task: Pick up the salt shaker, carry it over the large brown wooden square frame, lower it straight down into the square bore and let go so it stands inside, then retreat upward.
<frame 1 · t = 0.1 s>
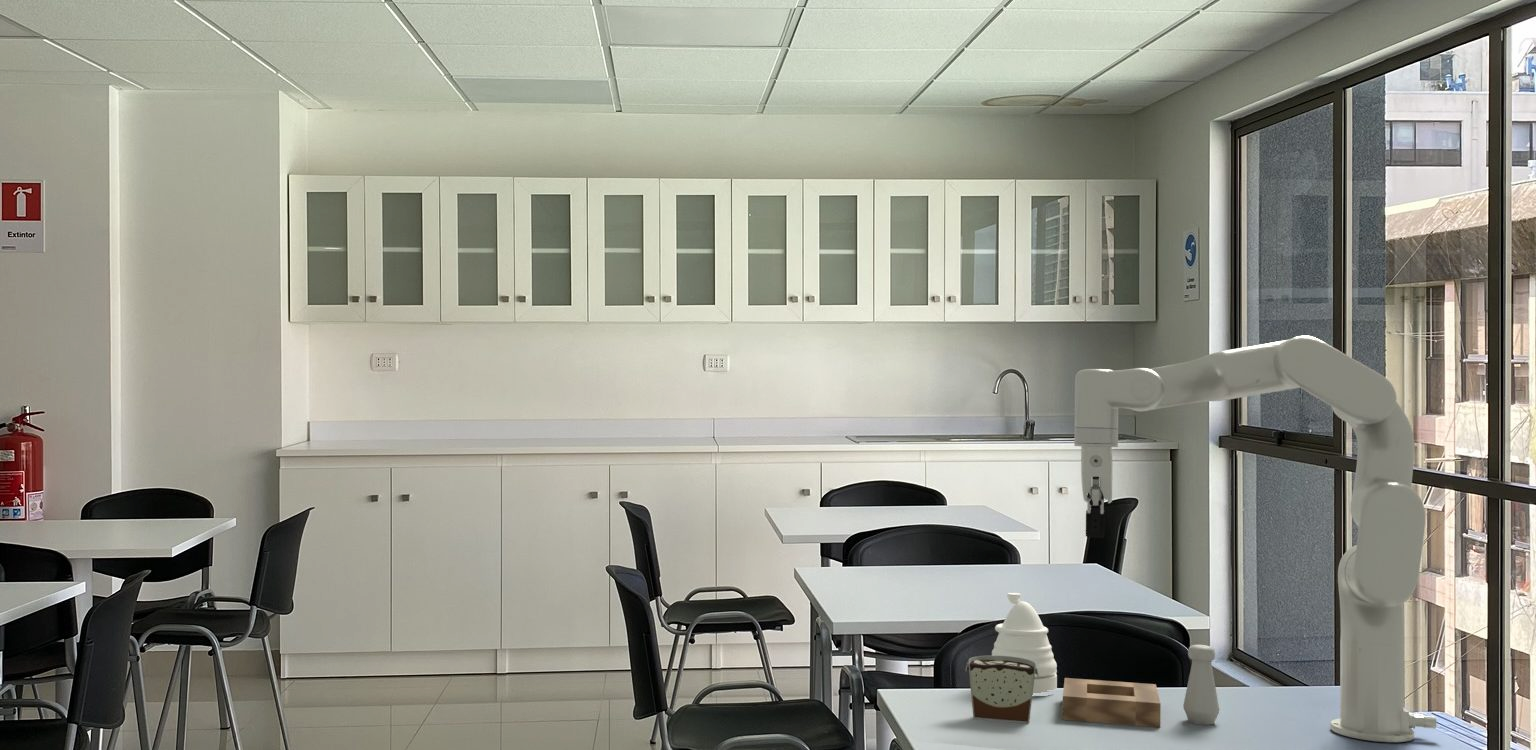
hand: (1095, 535, 216), 31 cm above the table, tool pointing down, fingers open, 9 cm apart
salt shaker: (1201, 723, 210), on the table
honey pot: (1022, 690, 233), on the table
brown wooden square frame: (1110, 712, 215), on the table
food container: (1002, 718, 210), on the table
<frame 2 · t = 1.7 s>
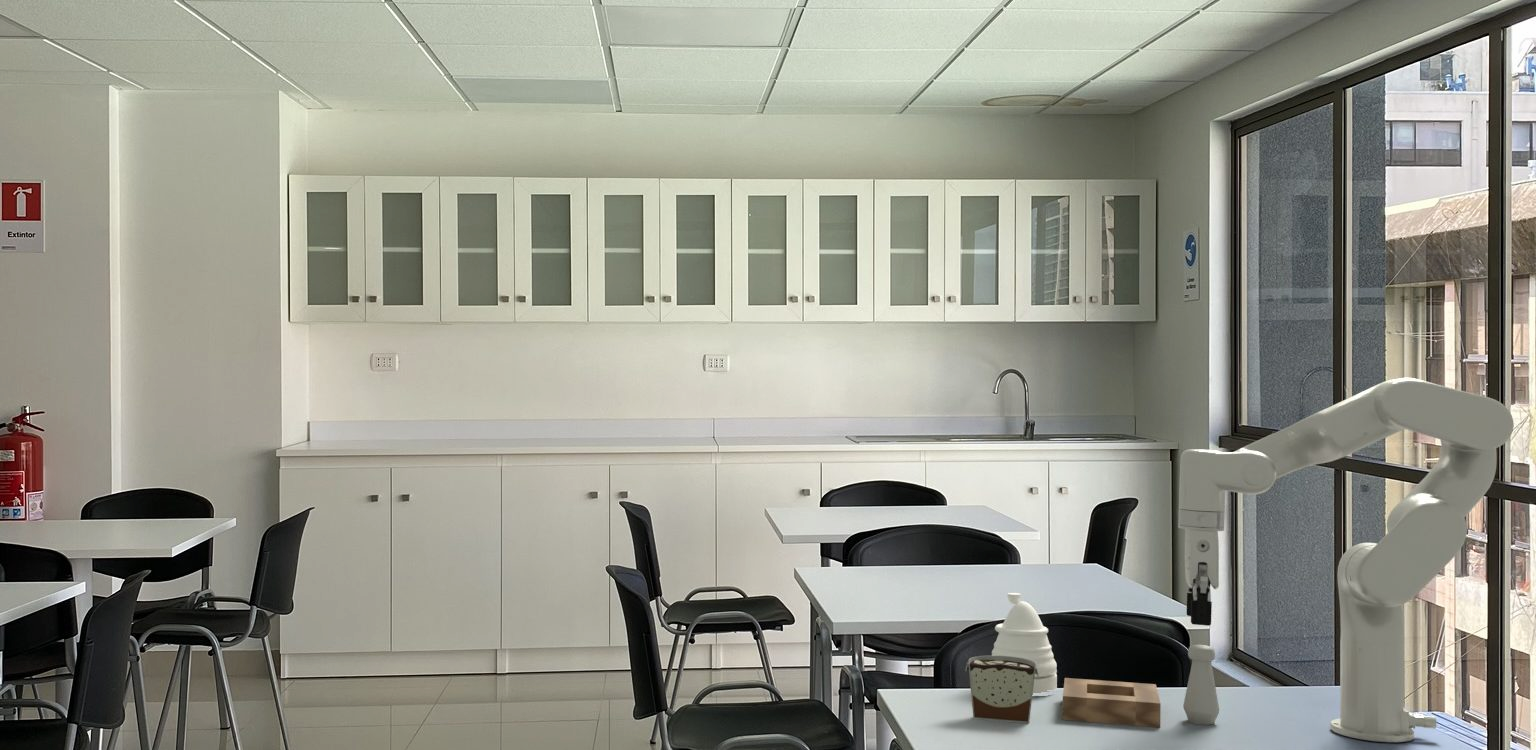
hand: (1198, 620, 210), 17 cm above the table, tool pointing down, fingers open, 9 cm apart
nothing on the table moved.
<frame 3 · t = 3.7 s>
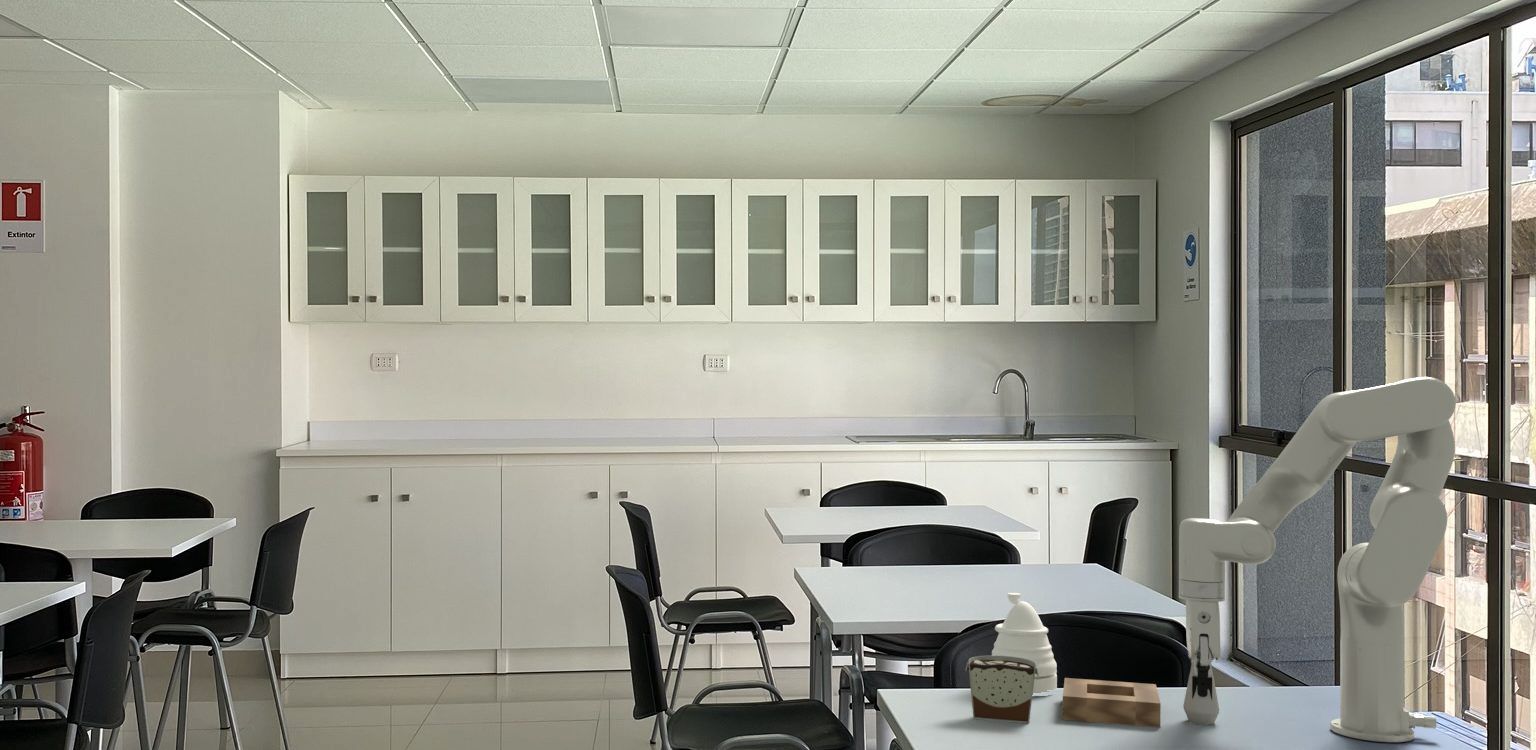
hand: (1201, 697, 210), 4 cm above the table, tool pointing down, fingers closed on salt shaker, 3 cm apart
salt shaker: (1201, 723, 210), on the table, touching gripper
everything else where it was.
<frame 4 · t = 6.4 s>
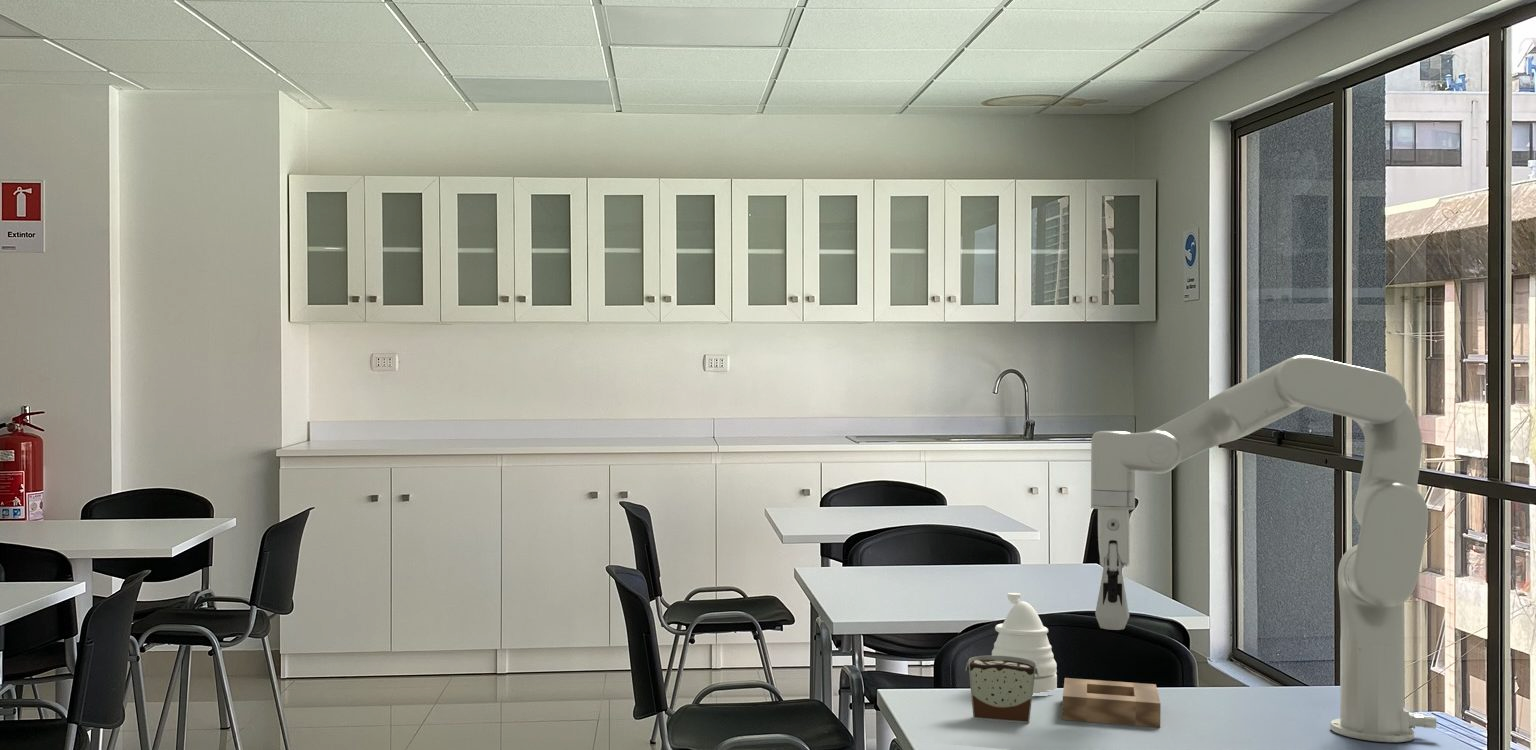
hand: (1112, 603, 216), 19 cm above the table, tool pointing down, fingers closed on salt shaker, 3 cm apart
salt shaker: (1112, 629, 215), point 15 cm above the table, touching gripper
everything else where it was.
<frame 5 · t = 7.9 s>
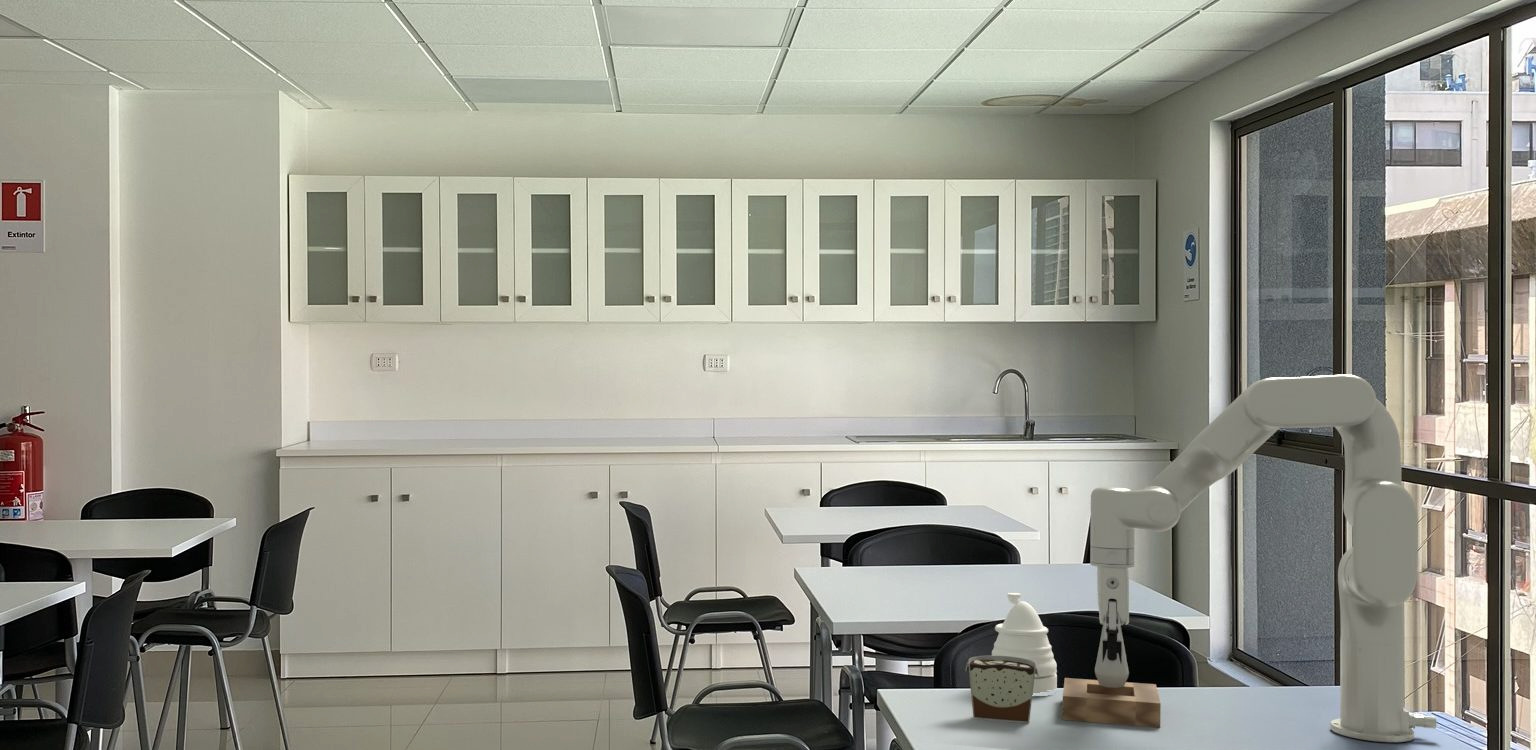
hand: (1111, 661, 215), 9 cm above the table, tool pointing down, fingers closed on salt shaker, 3 cm apart
salt shaker: (1111, 686, 215), point 5 cm above the table, touching gripper
everything else where it was.
when the fingers open (6 cm above the table, at t = 9.1 s): salt shaker drops 1 cm, resting in brown wooden square frame.
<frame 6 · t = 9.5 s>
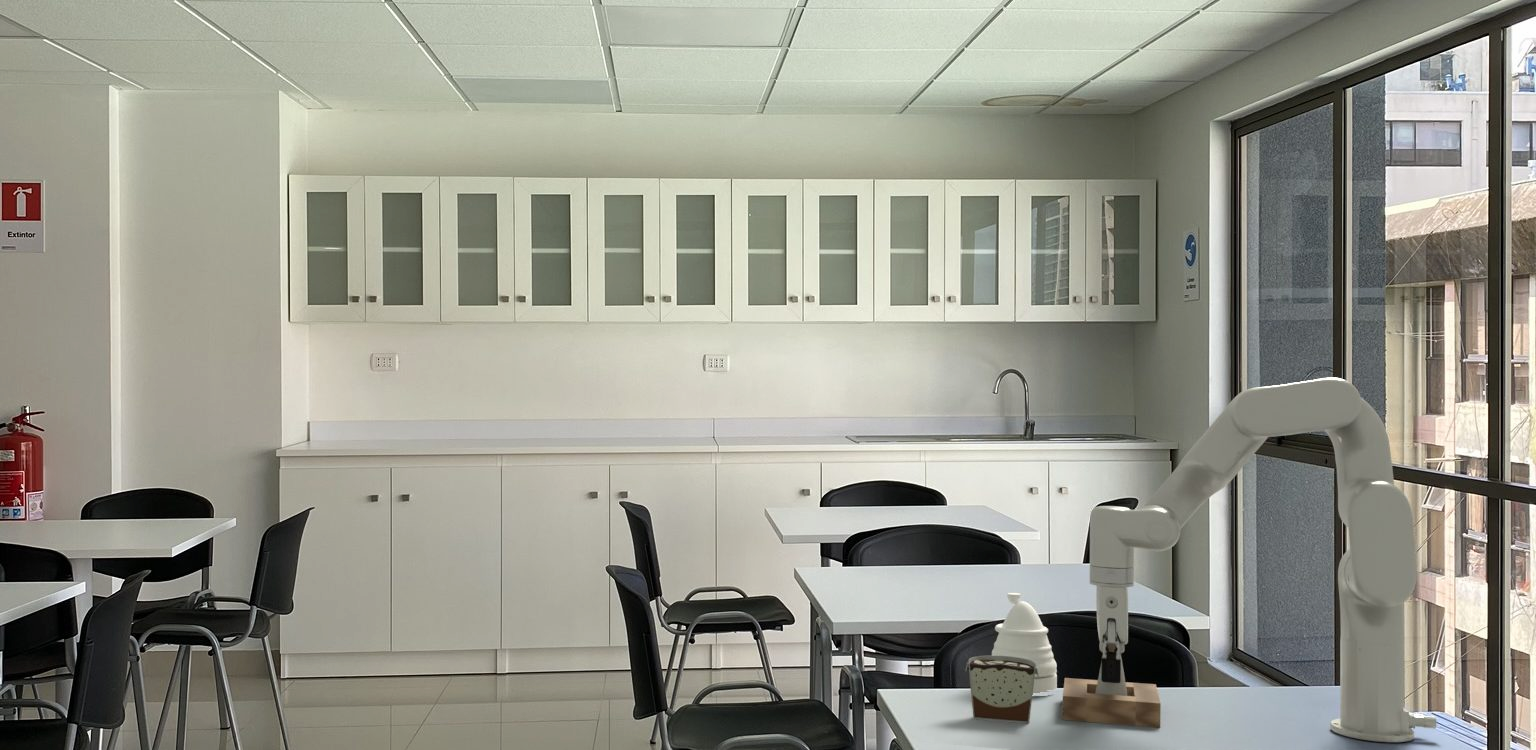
hand: (1110, 677, 215), 6 cm above the table, tool pointing down, fingers open, 7 cm apart
salt shaker: (1111, 714, 215), resting in brown wooden square frame
everything else where it was.
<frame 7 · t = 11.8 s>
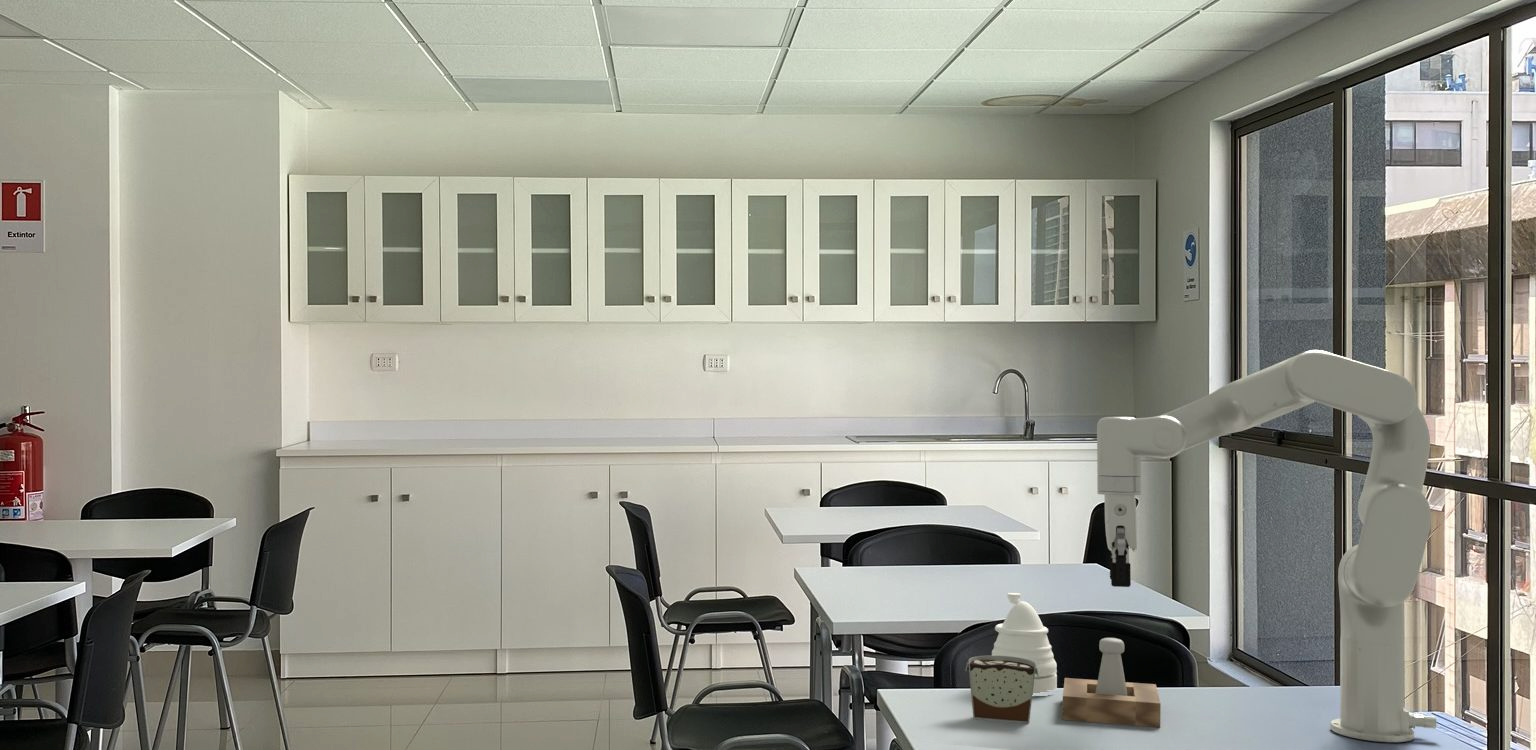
hand: (1120, 583, 216), 23 cm above the table, tool pointing down, fingers open, 9 cm apart
nothing on the table moved.
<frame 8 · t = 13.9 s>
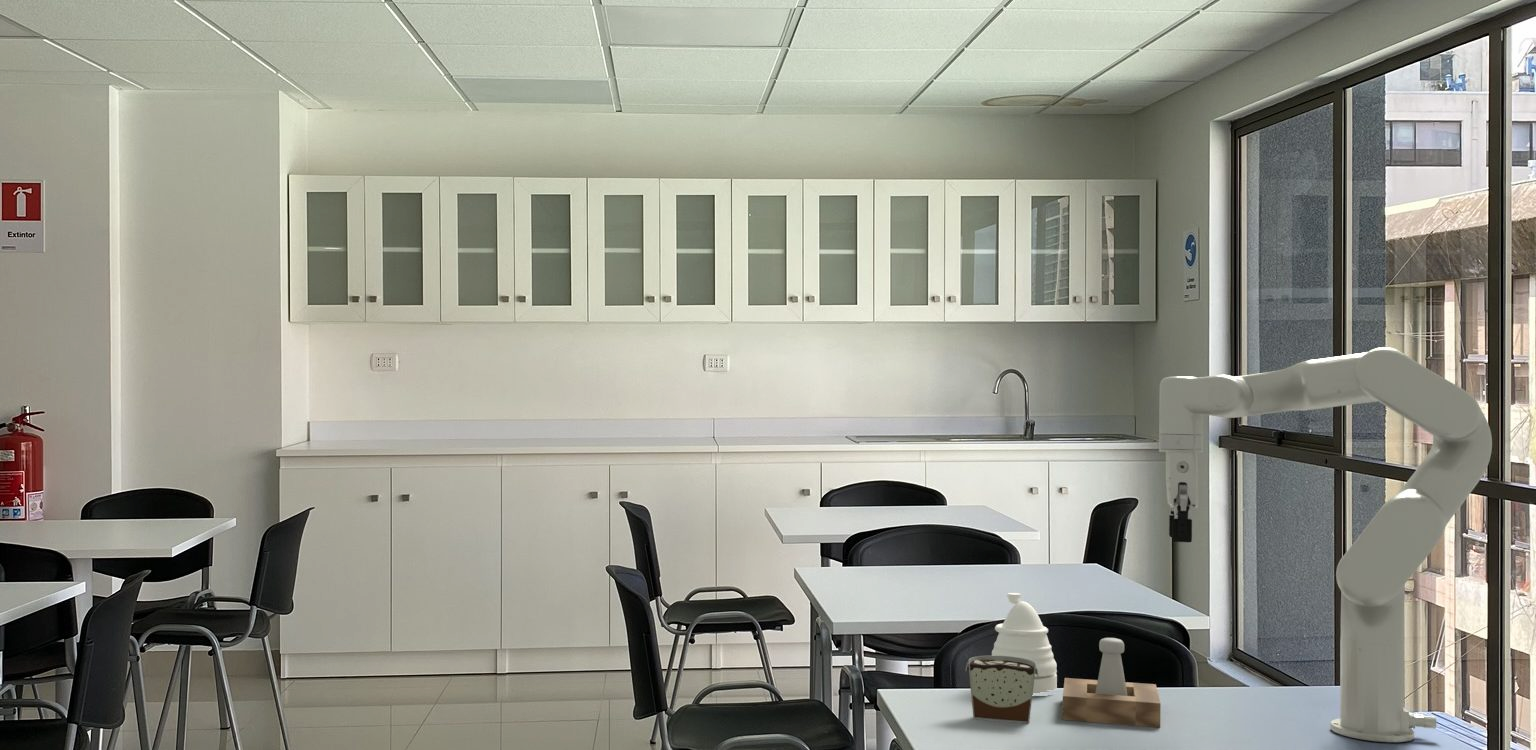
hand: (1180, 539, 220), 30 cm above the table, tool pointing down, fingers open, 9 cm apart
nothing on the table moved.
at the end: salt shaker 0.1 cm off-centre on the brown wooden square frame, point 0.0 cm above the brown wooden square frame's base; salt shaker tilted 0°; the gripper is holding nothing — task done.
